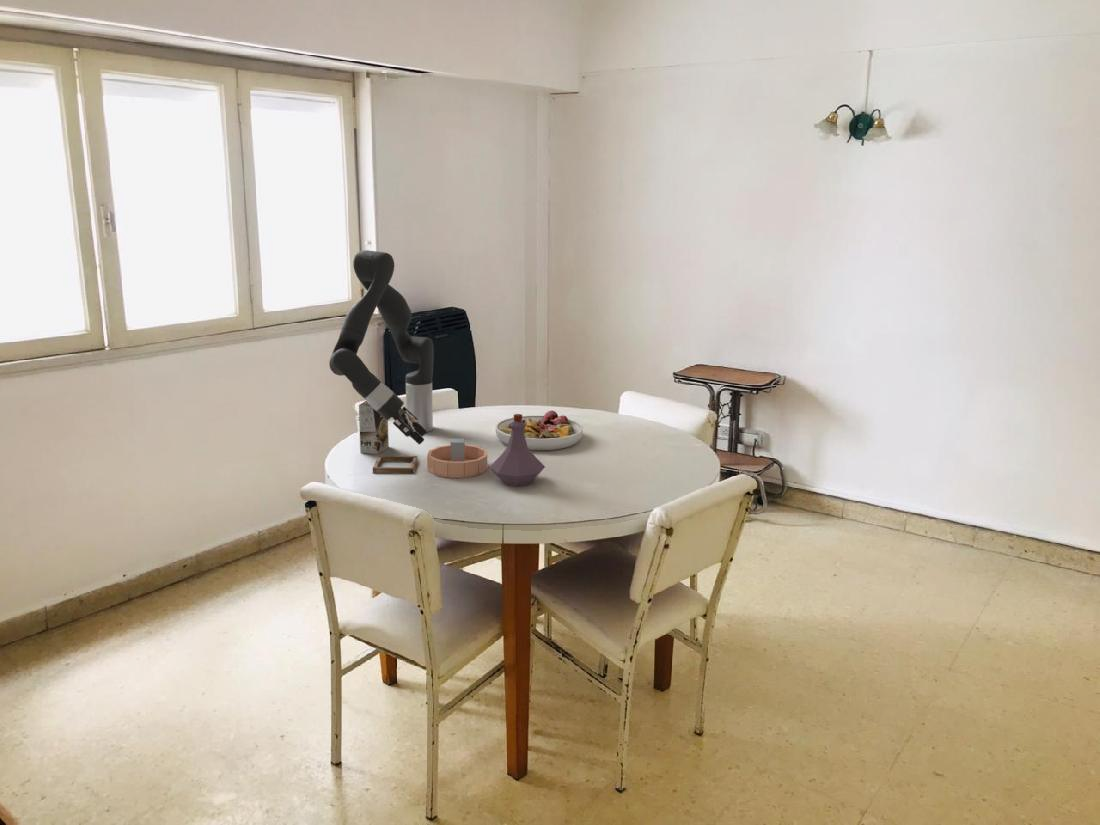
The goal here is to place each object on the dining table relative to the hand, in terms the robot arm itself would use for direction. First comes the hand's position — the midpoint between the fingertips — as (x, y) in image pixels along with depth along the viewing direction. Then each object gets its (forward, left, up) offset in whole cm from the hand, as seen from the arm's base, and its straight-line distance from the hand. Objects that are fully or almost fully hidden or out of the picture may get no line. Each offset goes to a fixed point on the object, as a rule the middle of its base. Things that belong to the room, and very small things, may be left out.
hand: (423, 438), depth 242 cm
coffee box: (-18, -18, -10) cm, 27 cm away
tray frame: (-1, -9, -10) cm, 13 cm away
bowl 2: (-31, +36, -10) cm, 49 cm away
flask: (+11, +28, -10) cm, 32 cm away
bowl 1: (0, +10, -9) cm, 14 cm away
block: (0, +10, -9) cm, 13 cm away
